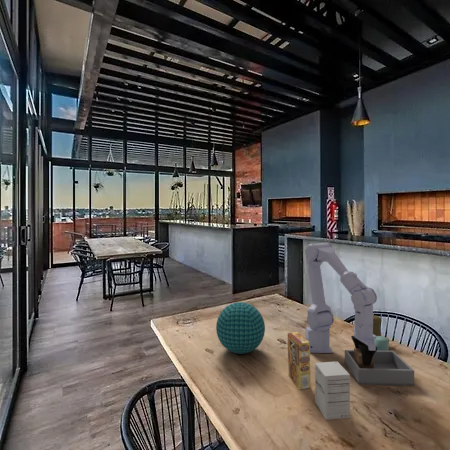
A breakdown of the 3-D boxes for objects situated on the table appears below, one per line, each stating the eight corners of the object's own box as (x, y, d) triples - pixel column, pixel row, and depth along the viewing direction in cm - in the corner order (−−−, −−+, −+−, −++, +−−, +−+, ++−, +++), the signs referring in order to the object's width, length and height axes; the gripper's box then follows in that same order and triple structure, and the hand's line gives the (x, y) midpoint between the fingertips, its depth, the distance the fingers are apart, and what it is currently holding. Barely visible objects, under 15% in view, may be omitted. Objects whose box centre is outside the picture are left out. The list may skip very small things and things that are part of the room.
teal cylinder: (377, 359, 113) (377, 341, 112) (372, 353, 118) (372, 335, 117) (391, 359, 112) (391, 341, 112) (385, 353, 117) (385, 336, 117)
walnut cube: (373, 370, 101) (373, 356, 100) (358, 369, 101) (358, 355, 101) (368, 362, 106) (368, 348, 105) (353, 361, 106) (353, 348, 106)
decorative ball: (206, 352, 121) (205, 304, 120) (238, 336, 136) (237, 293, 135) (244, 369, 108) (243, 315, 106) (274, 349, 122) (274, 302, 121)
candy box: (311, 388, 95) (310, 342, 95) (299, 390, 94) (298, 343, 94) (298, 373, 104) (298, 331, 103) (287, 375, 103) (286, 332, 102)
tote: (358, 384, 97) (358, 369, 97) (344, 362, 110) (344, 350, 110) (414, 385, 96) (414, 370, 95) (393, 363, 109) (393, 350, 109)
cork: (384, 344, 125) (384, 319, 124) (368, 343, 126) (369, 318, 125) (379, 338, 131) (379, 314, 130) (365, 337, 132) (365, 313, 131)
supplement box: (314, 403, 88) (314, 362, 87) (338, 401, 89) (338, 360, 88) (325, 420, 81) (324, 376, 80) (350, 418, 81) (350, 374, 81)
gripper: (385, 331, 95) (385, 372, 96) (367, 315, 109) (367, 351, 110) (362, 331, 95) (362, 372, 96) (347, 315, 110) (347, 350, 111)
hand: (363, 361), depth 103 cm, fingers closed on walnut cube, 5 cm apart
